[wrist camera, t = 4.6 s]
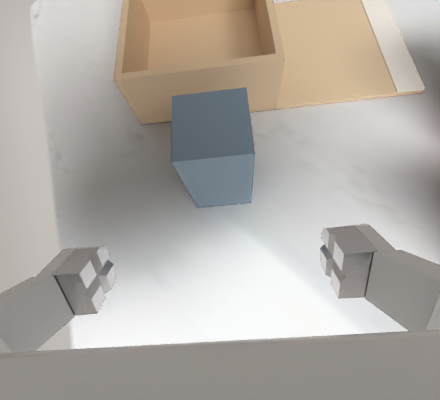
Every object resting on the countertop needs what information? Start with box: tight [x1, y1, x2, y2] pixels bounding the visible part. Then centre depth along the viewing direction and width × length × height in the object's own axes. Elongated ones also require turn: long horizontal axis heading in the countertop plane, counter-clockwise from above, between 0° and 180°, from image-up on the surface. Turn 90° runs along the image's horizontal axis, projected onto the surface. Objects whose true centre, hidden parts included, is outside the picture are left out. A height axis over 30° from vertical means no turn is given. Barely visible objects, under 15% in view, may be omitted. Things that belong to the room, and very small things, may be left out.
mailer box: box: [114, 0, 425, 125], centre depth 23 cm, size 26×14×6 cm, turn 93°
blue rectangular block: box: [171, 87, 255, 208], centre depth 18 cm, size 4×4×8 cm
